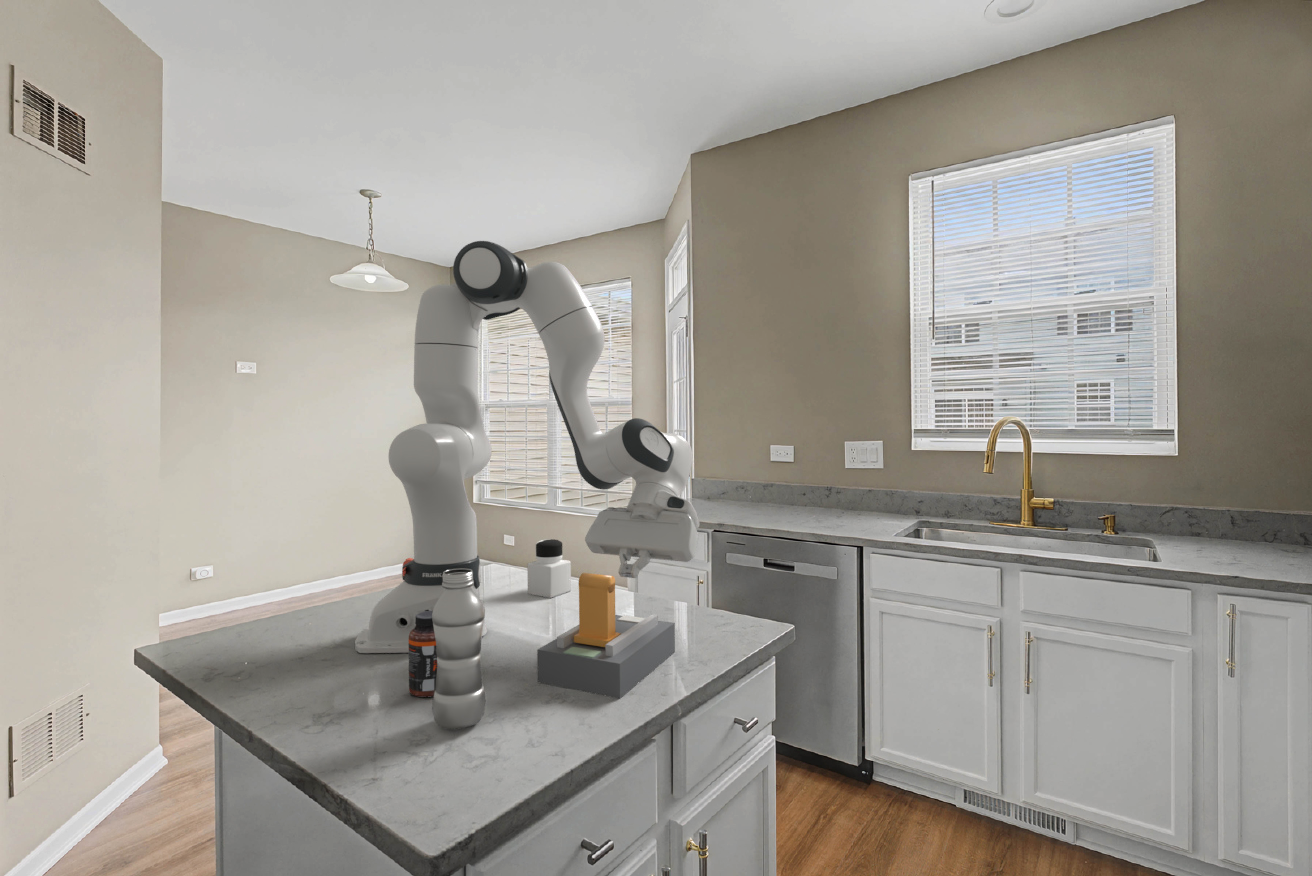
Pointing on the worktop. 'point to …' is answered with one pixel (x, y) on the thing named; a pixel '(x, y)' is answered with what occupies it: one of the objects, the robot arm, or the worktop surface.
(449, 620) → the plastic bottle
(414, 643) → the supplement bottle
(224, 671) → the worktop surface
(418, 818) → the worktop surface
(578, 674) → the breaker box
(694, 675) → the worktop surface
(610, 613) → the handle
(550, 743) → the worktop surface
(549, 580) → the medicine bottle
